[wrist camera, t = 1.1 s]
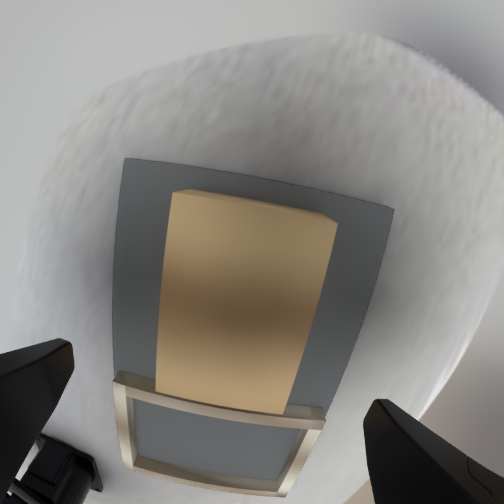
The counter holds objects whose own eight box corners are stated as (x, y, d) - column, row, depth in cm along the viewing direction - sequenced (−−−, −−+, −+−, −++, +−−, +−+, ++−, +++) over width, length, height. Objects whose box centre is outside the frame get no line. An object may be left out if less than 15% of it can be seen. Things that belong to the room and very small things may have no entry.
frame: (284, 485, 19) (285, 497, 17) (128, 457, 18) (123, 467, 17) (322, 407, 16) (325, 420, 15) (120, 370, 16) (112, 381, 15)
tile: (279, 377, 16) (282, 414, 13) (170, 357, 16) (155, 391, 13) (322, 213, 14) (337, 223, 11) (190, 188, 14) (172, 192, 11)
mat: (286, 486, 19) (286, 491, 19) (126, 457, 19) (124, 461, 19) (390, 207, 14) (394, 209, 14) (128, 158, 14) (124, 157, 13)
